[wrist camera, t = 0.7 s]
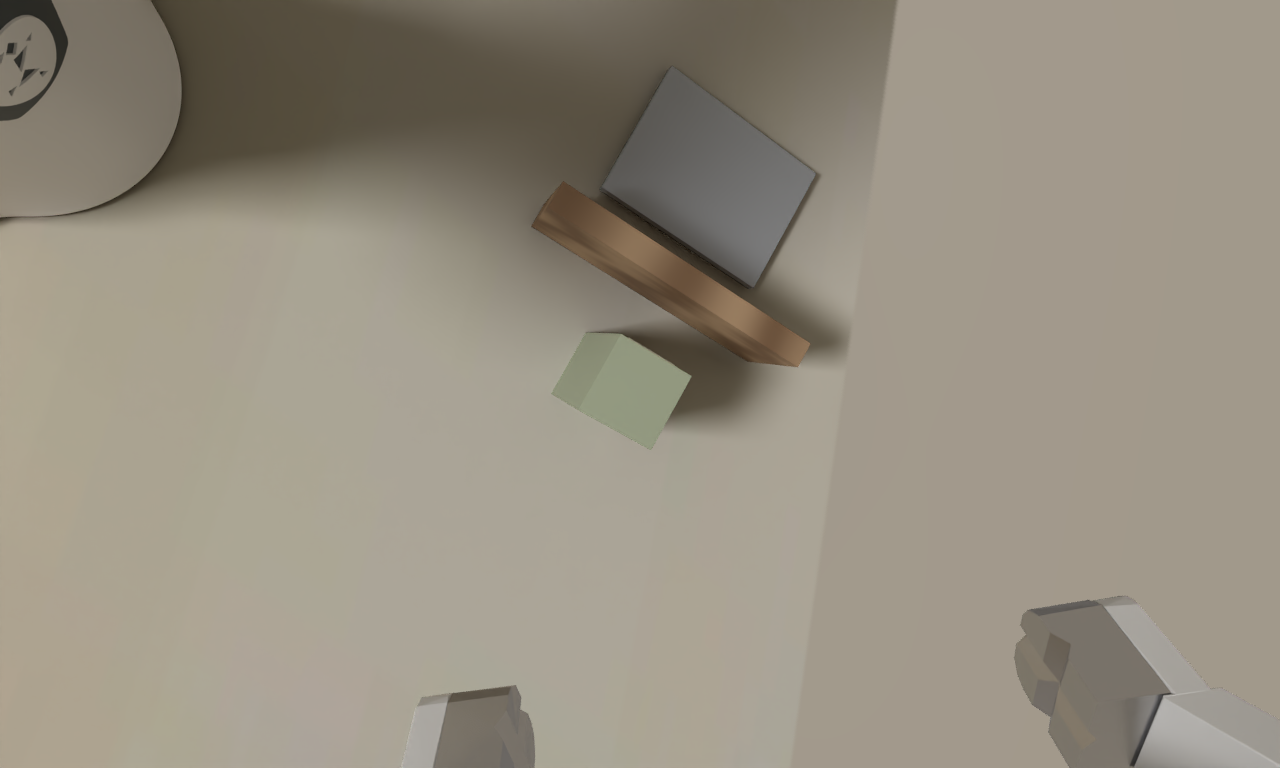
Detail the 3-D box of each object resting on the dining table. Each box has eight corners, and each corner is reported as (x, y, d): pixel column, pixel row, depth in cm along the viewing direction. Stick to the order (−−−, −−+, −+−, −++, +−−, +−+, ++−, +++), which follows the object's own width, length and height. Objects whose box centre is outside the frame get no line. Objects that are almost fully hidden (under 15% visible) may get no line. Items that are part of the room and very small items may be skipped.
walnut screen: (531, 226, 43) (548, 207, 36) (544, 204, 43) (563, 181, 36) (747, 361, 47) (798, 367, 41) (758, 341, 47) (810, 343, 41)
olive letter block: (551, 393, 44) (578, 410, 35) (587, 329, 44) (622, 330, 35) (610, 426, 45) (650, 450, 36) (645, 364, 45) (693, 372, 37)
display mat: (599, 189, 44) (602, 187, 43) (667, 70, 44) (671, 65, 43) (748, 288, 47) (753, 287, 46) (810, 176, 48) (816, 173, 47)
